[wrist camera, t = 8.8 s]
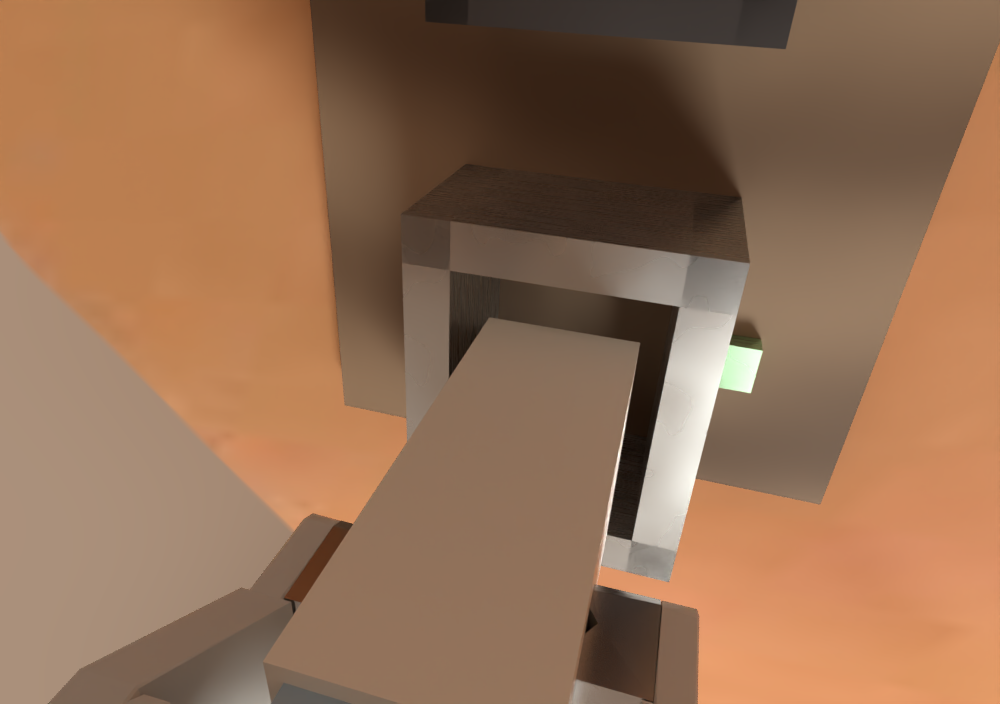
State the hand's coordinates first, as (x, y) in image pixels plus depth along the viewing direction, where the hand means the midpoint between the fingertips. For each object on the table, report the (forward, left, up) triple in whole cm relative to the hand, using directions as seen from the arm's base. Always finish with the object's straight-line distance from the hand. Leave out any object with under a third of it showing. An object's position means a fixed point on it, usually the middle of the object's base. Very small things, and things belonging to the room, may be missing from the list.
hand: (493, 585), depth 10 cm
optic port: (0, 0, -9) cm, 9 cm away
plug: (0, 0, -5) cm, 5 cm away
